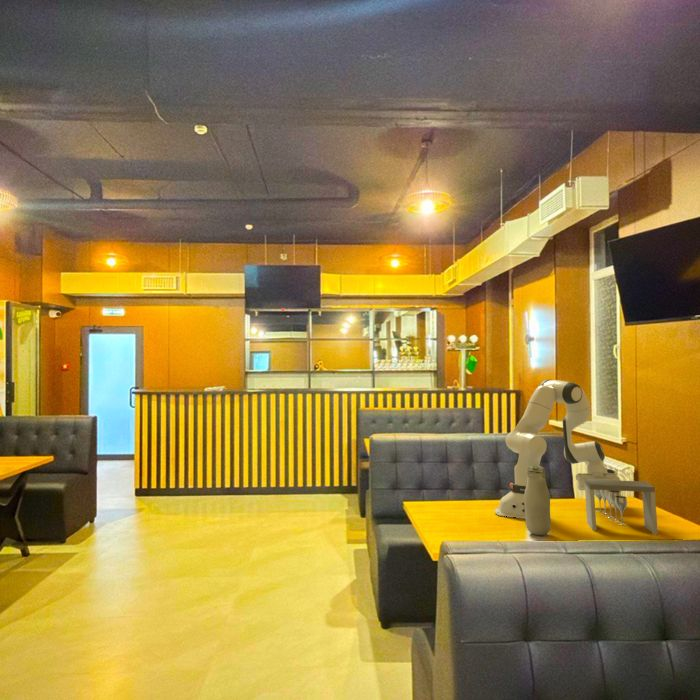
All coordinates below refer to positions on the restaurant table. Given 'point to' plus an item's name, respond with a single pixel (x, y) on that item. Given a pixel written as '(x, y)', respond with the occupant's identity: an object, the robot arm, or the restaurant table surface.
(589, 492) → the low table
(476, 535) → the restaurant table surface
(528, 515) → the grey bottle
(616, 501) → the goblet set
